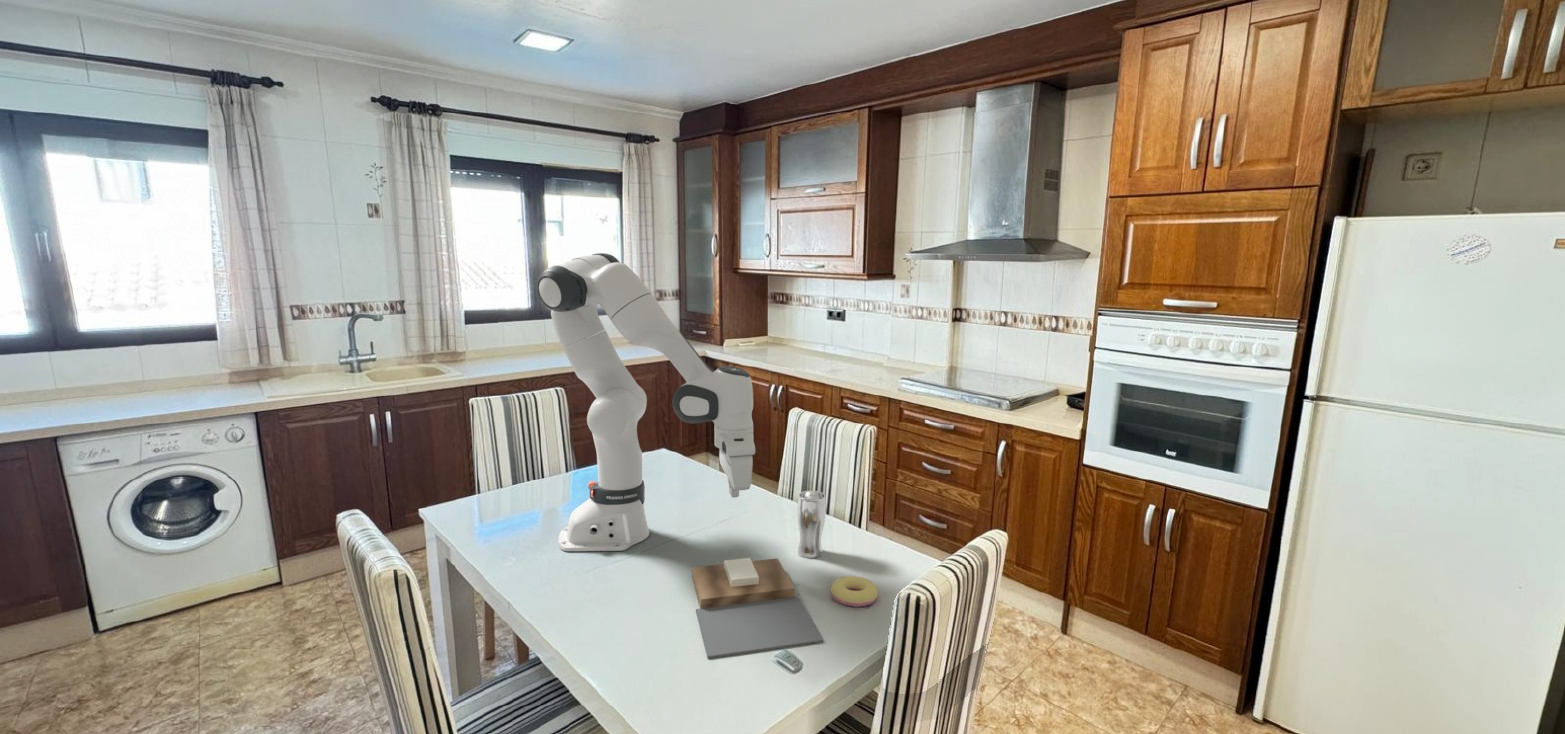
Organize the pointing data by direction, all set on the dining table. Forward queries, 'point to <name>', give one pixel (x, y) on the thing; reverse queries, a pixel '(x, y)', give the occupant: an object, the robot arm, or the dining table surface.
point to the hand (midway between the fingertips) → (734, 495)
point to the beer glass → (811, 522)
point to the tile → (741, 572)
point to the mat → (756, 627)
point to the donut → (854, 591)
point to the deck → (719, 592)
